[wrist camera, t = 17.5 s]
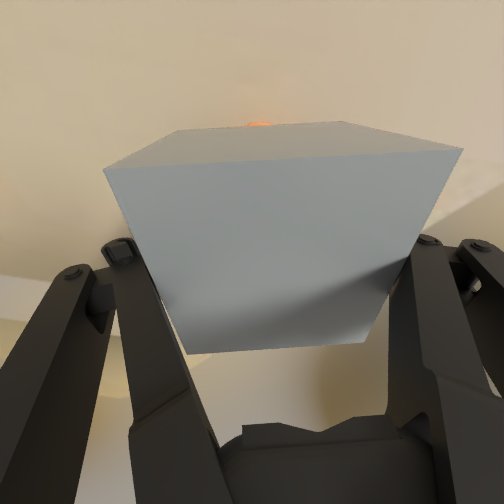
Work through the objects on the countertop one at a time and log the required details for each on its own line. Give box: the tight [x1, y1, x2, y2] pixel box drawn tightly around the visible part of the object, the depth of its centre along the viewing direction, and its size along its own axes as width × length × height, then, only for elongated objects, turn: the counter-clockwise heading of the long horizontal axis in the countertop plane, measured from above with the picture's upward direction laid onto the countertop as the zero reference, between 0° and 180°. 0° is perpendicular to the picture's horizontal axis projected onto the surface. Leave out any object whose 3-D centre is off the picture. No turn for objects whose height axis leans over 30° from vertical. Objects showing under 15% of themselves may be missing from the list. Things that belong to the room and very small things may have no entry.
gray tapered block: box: [103, 121, 463, 355], centre depth 12 cm, size 10×10×9 cm
